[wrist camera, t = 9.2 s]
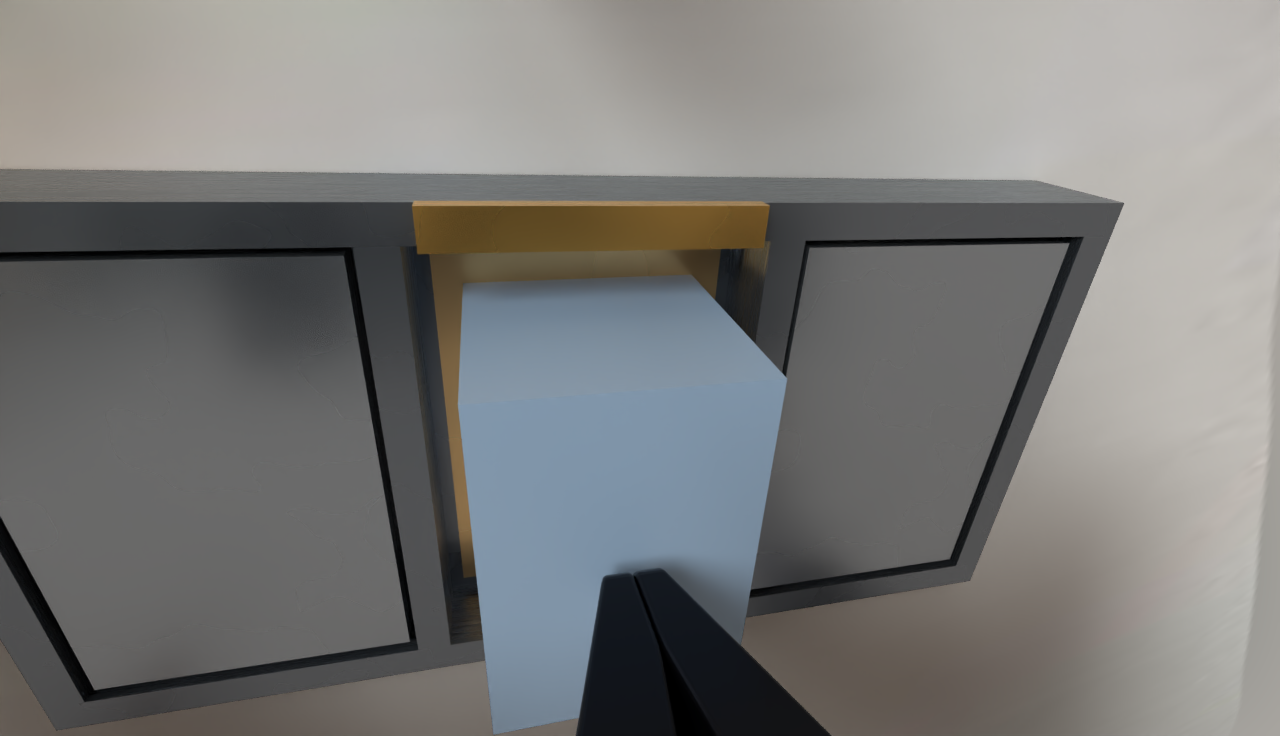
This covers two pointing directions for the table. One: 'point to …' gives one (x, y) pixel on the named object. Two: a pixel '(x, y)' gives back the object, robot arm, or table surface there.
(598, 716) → the robot arm
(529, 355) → the pale blue box
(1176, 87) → the table surface
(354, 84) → the table surface
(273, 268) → the cabinet
